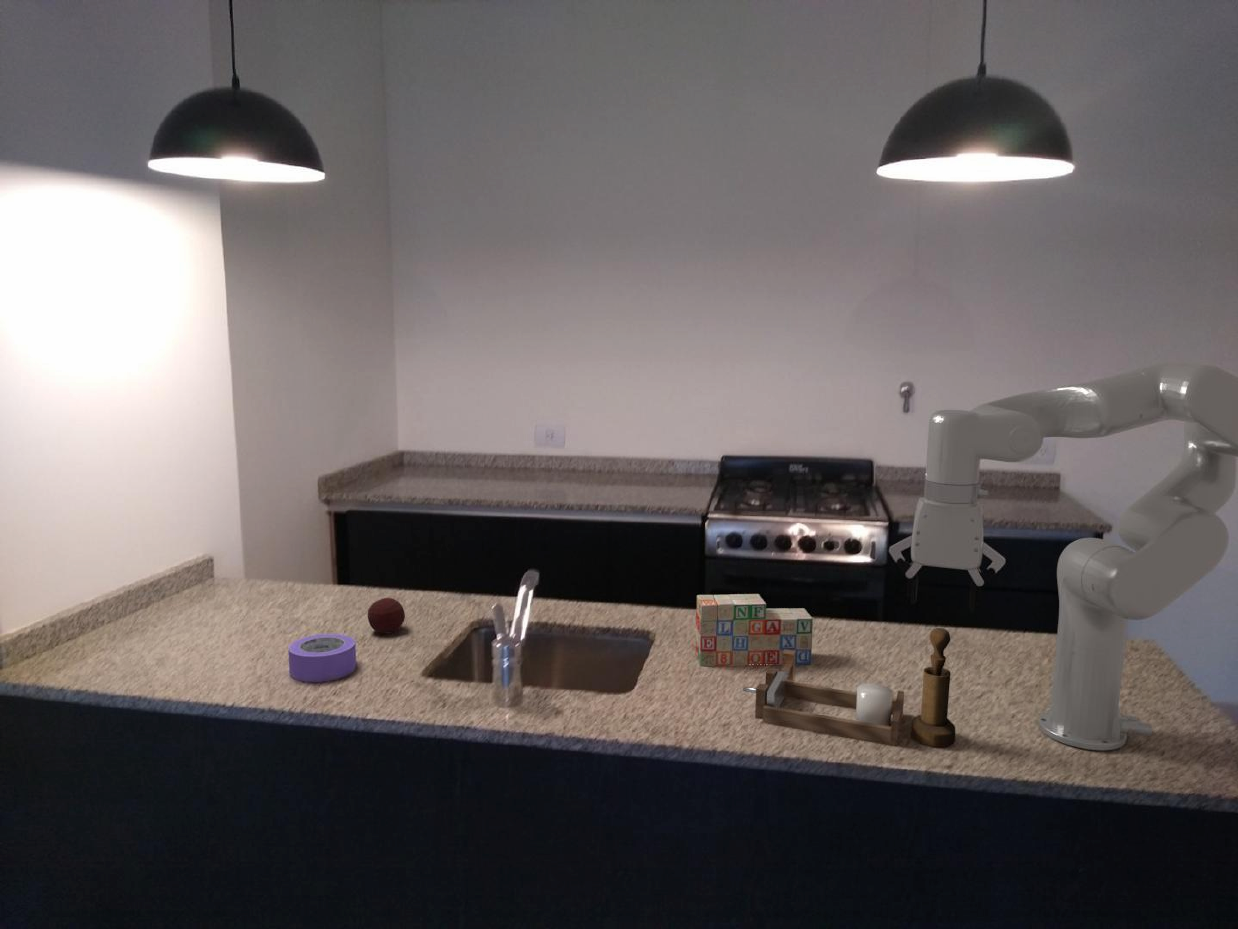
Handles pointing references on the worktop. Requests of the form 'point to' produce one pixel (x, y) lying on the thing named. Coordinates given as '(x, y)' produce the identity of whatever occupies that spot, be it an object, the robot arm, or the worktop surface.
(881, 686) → the white marshmallow
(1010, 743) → the worktop surface
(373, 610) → the dark red ball
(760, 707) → the lane
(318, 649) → the tape roll
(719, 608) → the stack of blocks
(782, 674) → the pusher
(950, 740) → the mortar and pestle
